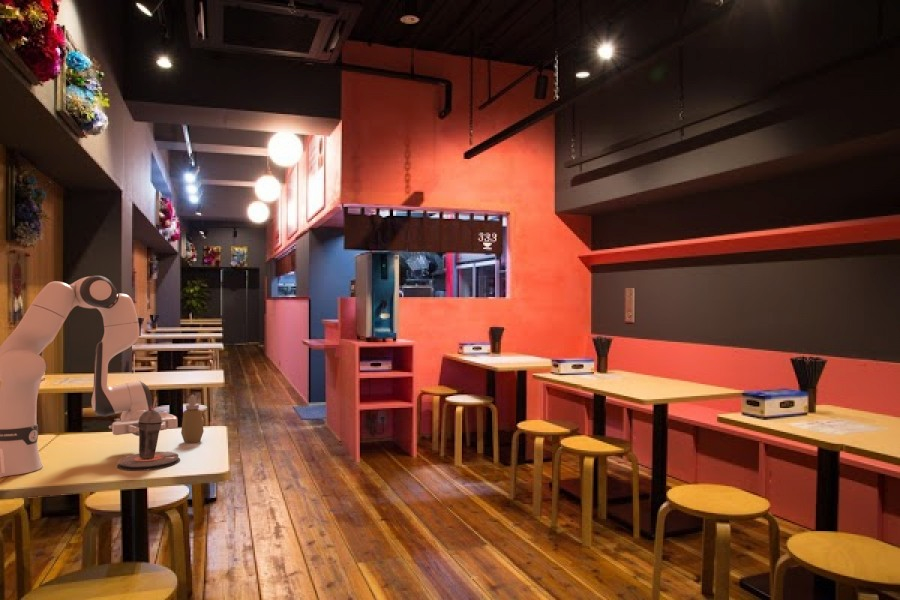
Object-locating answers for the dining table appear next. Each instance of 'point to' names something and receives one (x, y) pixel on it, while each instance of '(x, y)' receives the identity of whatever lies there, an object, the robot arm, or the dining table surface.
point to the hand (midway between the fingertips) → (150, 428)
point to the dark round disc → (148, 460)
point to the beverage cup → (149, 432)
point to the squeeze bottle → (192, 422)
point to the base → (148, 468)
